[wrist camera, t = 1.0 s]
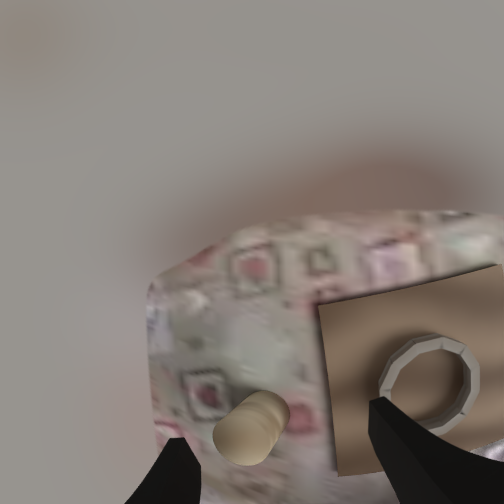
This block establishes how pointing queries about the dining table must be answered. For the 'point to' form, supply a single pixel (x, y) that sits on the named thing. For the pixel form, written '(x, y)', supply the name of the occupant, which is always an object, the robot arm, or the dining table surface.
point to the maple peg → (251, 428)
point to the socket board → (418, 362)
